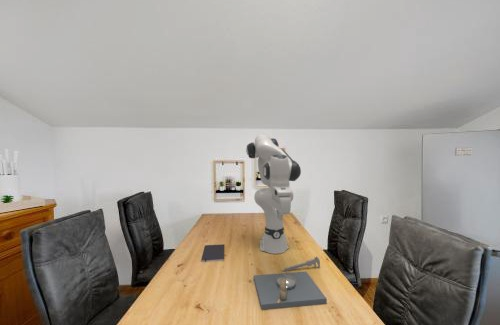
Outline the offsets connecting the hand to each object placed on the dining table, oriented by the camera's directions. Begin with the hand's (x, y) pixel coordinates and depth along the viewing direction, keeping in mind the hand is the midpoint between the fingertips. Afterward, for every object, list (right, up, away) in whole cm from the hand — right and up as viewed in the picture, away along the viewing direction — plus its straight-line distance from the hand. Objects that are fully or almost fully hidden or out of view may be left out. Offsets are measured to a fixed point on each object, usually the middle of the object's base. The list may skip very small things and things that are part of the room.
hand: (279, 219), depth 101 cm
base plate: (+2, -29, -6) cm, 30 cm away
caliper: (+13, -29, +12) cm, 34 cm away
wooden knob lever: (+1, -27, -9) cm, 28 cm away
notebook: (-36, -30, +32) cm, 57 cm away
